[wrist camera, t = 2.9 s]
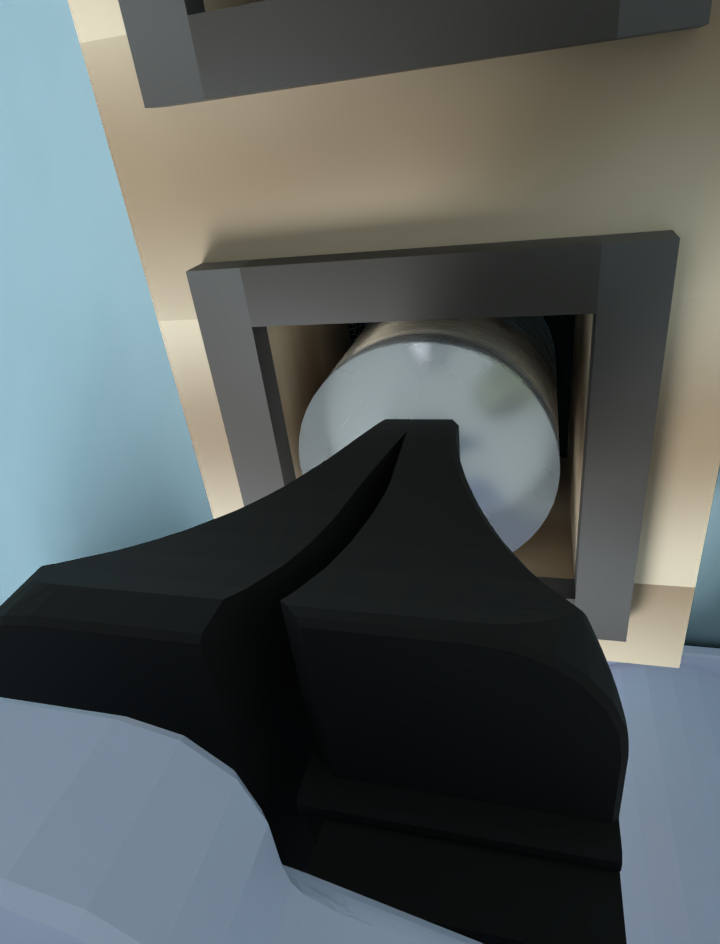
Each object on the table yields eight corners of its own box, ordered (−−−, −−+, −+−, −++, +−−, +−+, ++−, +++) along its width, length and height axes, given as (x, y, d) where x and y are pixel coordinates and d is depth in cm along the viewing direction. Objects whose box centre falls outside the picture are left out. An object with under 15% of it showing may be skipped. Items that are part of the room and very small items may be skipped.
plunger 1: (552, 454, 16) (555, 580, 12) (372, 450, 17) (318, 563, 13) (560, 263, 14) (567, 339, 10) (351, 276, 15) (277, 347, 11)
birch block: (647, 528, 17) (684, 690, 13) (305, 512, 20) (233, 641, 15) (843, -878, 7) (1373, -2582, 3) (107, -528, 10) (-275, -1062, 5)
